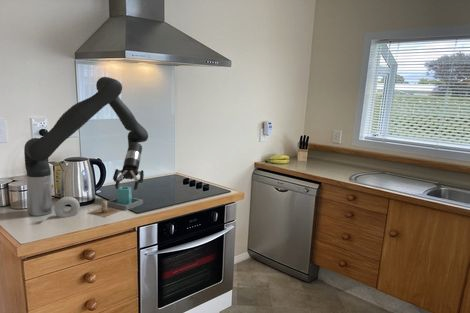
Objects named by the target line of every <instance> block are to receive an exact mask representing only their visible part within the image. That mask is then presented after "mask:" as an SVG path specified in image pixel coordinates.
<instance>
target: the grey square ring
mask: <svg viewBox="0 0 470 313" xmlns="http://www.w3.org/2000/svg"><path fill="white" fill-rule="evenodd" d="M106 201H107V207H108V208H109V207H110V208H112V209H113V208H114V209H117V210H122V211H128V210H131V209H133V208H136V207H138V206H141V205H144V199H139V198H135V197H132V203H130V204H128V205H122V204H118V197H117V198H113V199H111V200H106Z"/></svg>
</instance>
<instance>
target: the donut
mask: <svg viewBox="0 0 470 313" xmlns="http://www.w3.org/2000/svg"><path fill="white" fill-rule="evenodd" d="M67 205H70V206H71V208H70V209H69V210H67V211H65V209H64V207H65V206H67ZM80 209H81V206H80V202H79V201H78V199H76V198H75V197H73V196H64V197H61V198H60V199H58V200H57V201H56V202H55V204H54V209H53V210H54V214H55V215H56V217H58V218H70V217H75V216H77V215H78V214H79V212H80Z"/></svg>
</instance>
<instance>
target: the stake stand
mask: <svg viewBox="0 0 470 313" xmlns="http://www.w3.org/2000/svg"><path fill="white" fill-rule="evenodd" d="M107 201H108V200H102V201H101V203H100V204H101V208H98V209H95V210H92V211H89V212H88V214H90V215H94V216H97V217H102V218H106V217H109V216H111V215H114V214H115V215H116V214H117V213H120V212H121V210H119V209H115V208H114V209H113V208H111V207H110V208H109V207H108V206H107Z"/></svg>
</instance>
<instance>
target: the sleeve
mask: <svg viewBox="0 0 470 313" xmlns="http://www.w3.org/2000/svg"><path fill="white" fill-rule="evenodd" d="M132 188H133V187H132V186H119V189H117V198H118V204H122V205H128V204H130V203H133V202H132V198H133V197H132V195H133V194H132V193H133V190H132Z"/></svg>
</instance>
